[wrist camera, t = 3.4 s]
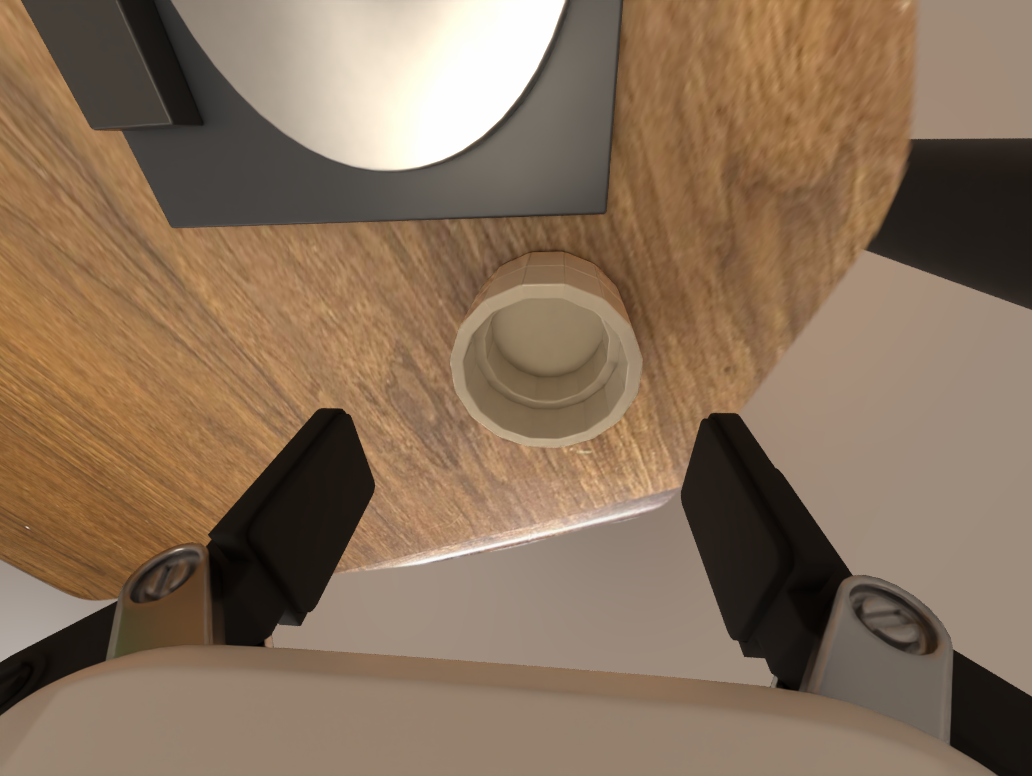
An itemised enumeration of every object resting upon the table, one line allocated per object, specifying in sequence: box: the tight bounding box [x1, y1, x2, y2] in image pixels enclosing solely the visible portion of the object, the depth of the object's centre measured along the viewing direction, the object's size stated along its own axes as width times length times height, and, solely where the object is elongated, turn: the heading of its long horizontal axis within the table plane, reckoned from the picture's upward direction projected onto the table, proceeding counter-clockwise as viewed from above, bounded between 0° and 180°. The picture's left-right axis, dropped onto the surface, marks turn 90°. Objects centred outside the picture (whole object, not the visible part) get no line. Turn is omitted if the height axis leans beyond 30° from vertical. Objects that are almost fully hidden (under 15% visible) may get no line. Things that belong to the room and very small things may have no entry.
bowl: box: [450, 252, 643, 448], centre depth 15 cm, size 7×7×5 cm
